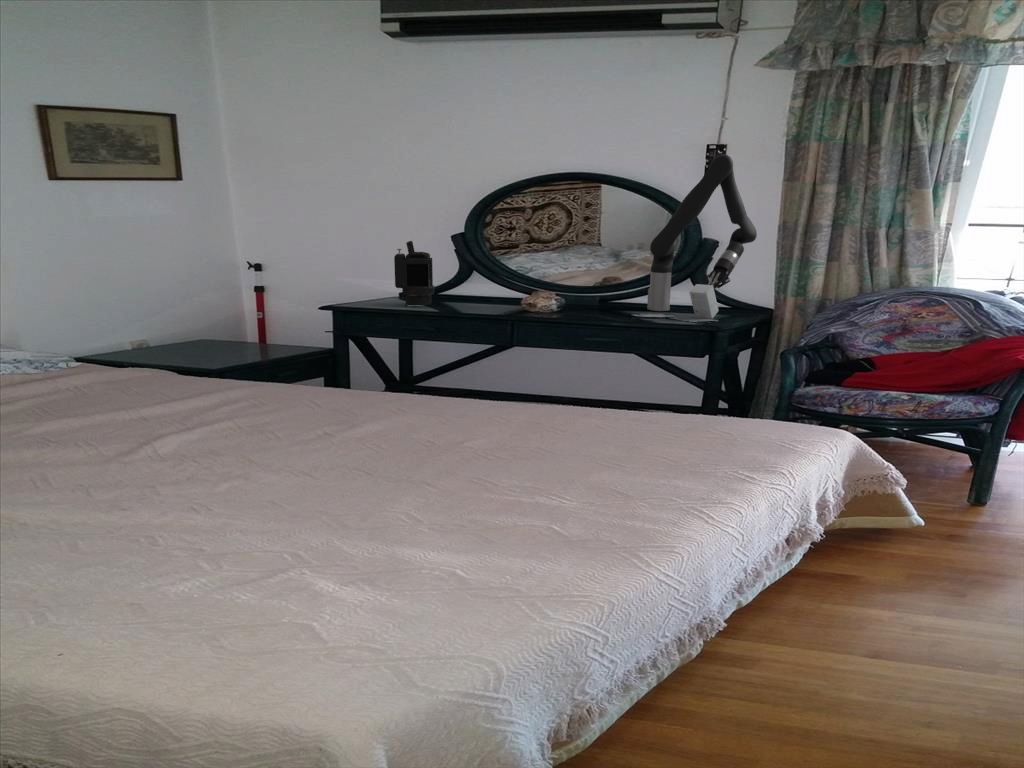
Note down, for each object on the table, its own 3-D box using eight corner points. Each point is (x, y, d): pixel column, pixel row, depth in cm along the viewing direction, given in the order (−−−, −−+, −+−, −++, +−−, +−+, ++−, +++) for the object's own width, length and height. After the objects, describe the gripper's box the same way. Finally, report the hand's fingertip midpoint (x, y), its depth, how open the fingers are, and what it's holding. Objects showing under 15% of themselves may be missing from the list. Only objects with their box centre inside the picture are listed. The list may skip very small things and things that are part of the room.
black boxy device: (434, 307, 345) (433, 241, 339) (395, 307, 344) (393, 241, 337) (435, 303, 360) (434, 240, 353) (398, 303, 359) (396, 240, 352)
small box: (719, 310, 315) (713, 284, 308) (712, 319, 312) (706, 293, 305) (701, 309, 321) (696, 283, 314) (694, 317, 318) (688, 291, 311)
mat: (664, 318, 314) (664, 317, 314) (683, 316, 321) (683, 315, 321) (699, 323, 300) (699, 322, 300) (718, 321, 308) (718, 320, 308)
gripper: (710, 256, 322) (690, 286, 317) (736, 258, 312) (716, 289, 307) (716, 268, 326) (697, 298, 321) (742, 270, 316) (723, 301, 311)
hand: (707, 293), depth 314 cm, fingers closed
